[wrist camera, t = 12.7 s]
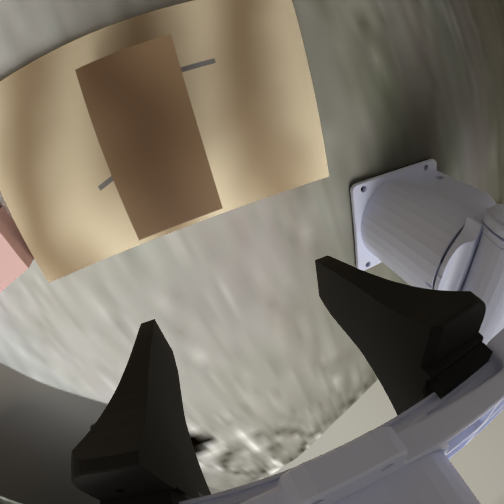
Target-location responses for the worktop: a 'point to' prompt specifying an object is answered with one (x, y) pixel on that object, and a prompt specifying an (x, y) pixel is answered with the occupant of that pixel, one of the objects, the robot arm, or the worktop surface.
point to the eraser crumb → (11, 251)
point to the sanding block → (149, 135)
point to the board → (205, 110)
